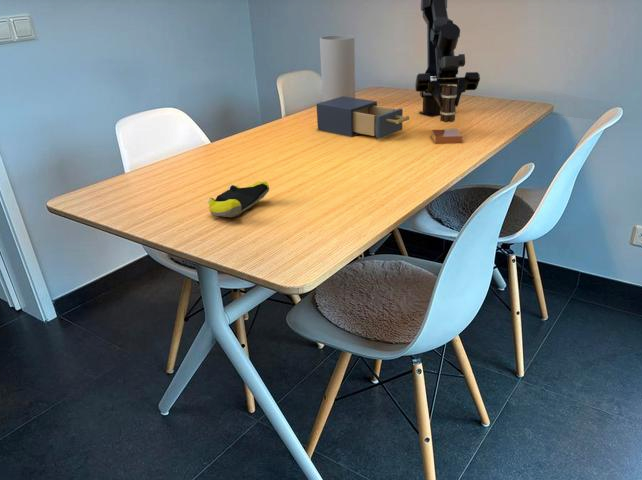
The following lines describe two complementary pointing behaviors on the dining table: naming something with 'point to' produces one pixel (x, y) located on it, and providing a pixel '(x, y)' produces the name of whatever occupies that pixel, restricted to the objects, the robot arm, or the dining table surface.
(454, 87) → the bundle
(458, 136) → the stand
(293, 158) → the dining table surface
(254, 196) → the black and yellow sneaker
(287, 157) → the dining table surface
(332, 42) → the cylinder vase
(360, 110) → the drawer
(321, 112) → the cabinet
